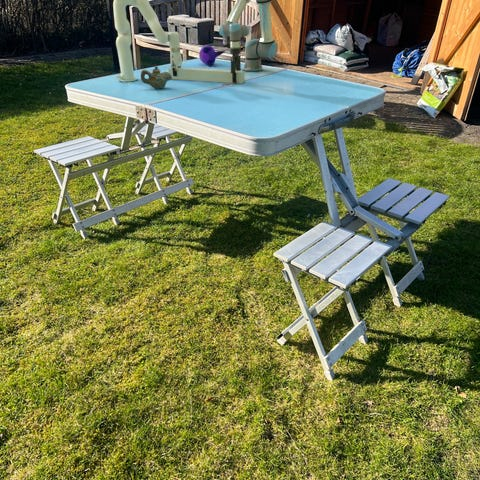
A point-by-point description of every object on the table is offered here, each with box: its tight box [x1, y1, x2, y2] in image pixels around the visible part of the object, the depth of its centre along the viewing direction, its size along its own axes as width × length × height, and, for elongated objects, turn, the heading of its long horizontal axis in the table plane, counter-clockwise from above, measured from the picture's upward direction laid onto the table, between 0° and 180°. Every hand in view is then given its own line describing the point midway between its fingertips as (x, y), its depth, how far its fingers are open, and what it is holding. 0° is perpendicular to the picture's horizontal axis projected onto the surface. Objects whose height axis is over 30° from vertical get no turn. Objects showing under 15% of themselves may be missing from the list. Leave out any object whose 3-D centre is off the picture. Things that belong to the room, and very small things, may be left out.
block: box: [167, 67, 246, 84], centre depth 335 cm, size 60×6×8 cm, turn 69°
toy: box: [198, 45, 226, 67], centre depth 391 cm, size 16×18×27 cm
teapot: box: [140, 65, 172, 90], centre depth 311 cm, size 21×12×15 cm, turn 109°
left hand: (177, 75), depth 344 cm, fingers closed on block, 6 cm apart
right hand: (236, 81), depth 329 cm, fingers closed on block, 6 cm apart
